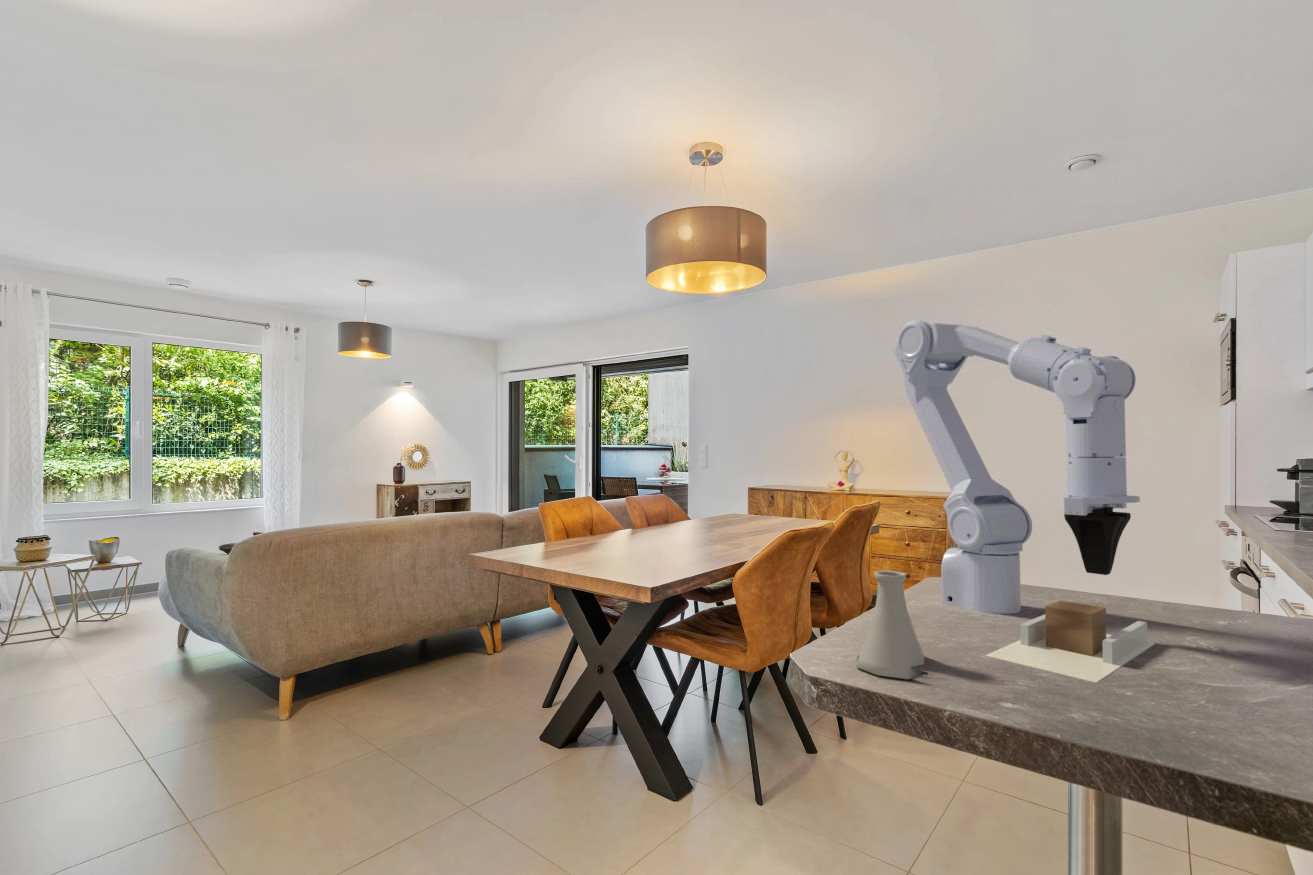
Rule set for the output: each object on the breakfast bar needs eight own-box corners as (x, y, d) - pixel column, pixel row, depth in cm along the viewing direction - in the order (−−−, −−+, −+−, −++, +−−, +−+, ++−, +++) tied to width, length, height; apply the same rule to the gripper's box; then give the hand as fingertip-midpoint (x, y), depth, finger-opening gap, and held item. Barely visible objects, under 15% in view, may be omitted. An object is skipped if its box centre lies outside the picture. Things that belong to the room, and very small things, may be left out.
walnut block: (1045, 646, 69) (1045, 606, 69) (1061, 638, 72) (1060, 600, 72) (1092, 656, 65) (1091, 614, 66) (1106, 648, 68) (1105, 607, 68)
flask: (843, 669, 65) (842, 573, 66) (873, 653, 71) (871, 564, 71) (913, 686, 61) (911, 583, 61) (939, 667, 66) (938, 572, 66)
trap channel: (985, 666, 66) (984, 634, 66) (1055, 633, 78) (1054, 606, 78) (1096, 695, 58) (1095, 658, 58) (1155, 653, 70) (1154, 623, 70)
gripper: (1116, 458, 66) (1119, 586, 66) (1155, 457, 75) (1158, 570, 75) (1042, 457, 72) (1044, 576, 71) (1087, 457, 81) (1089, 562, 80)
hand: (1098, 573), depth 73 cm, fingers closed
